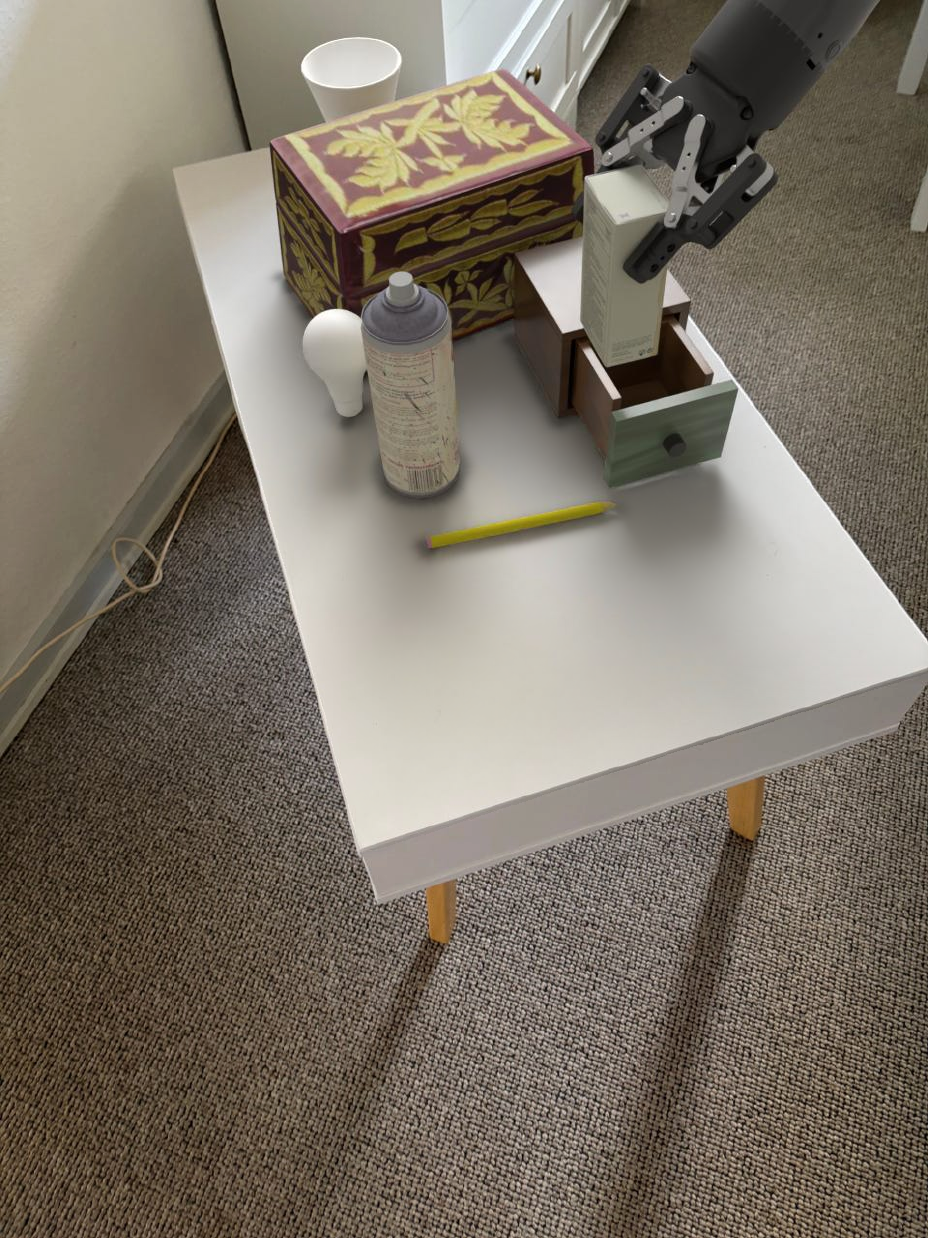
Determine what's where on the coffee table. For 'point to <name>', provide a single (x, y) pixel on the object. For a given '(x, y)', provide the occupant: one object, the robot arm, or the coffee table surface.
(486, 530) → the pencil
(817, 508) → the coffee table surface
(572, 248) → the cabinet
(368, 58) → the cup
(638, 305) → the cosmetic box
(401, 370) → the aerosol can
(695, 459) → the drawer
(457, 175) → the decorative box
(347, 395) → the lightbulb
